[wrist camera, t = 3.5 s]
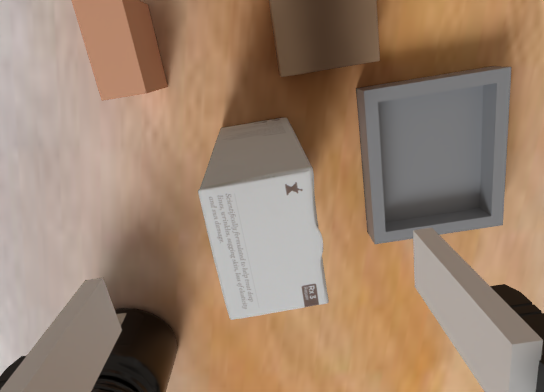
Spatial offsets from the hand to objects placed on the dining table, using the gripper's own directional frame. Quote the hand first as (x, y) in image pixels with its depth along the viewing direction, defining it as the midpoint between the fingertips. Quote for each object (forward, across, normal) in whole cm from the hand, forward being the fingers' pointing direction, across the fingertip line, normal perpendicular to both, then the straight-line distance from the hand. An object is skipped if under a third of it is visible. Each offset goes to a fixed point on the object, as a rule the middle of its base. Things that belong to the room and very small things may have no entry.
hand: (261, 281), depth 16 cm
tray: (+18, -14, +1) cm, 23 cm away
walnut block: (+18, -6, -11) cm, 22 cm away
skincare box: (+18, 0, 0) cm, 18 cm away
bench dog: (+18, +8, -11) cm, 22 cm away
